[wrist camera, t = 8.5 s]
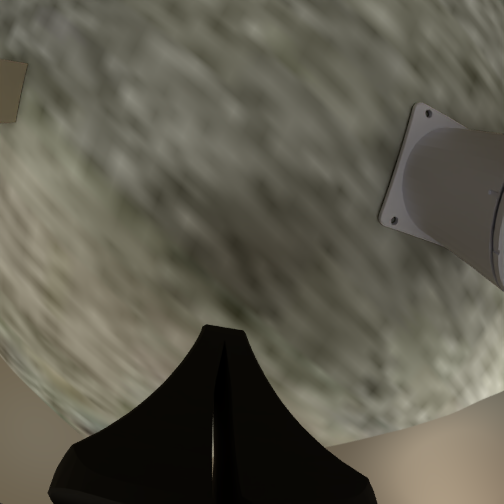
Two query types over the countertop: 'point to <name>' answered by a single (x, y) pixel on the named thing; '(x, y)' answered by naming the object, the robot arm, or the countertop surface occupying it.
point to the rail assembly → (10, 88)
